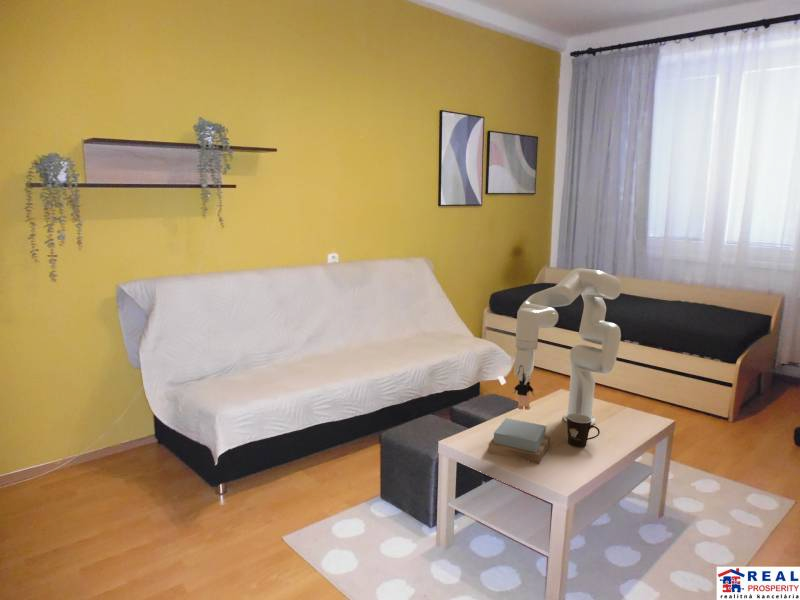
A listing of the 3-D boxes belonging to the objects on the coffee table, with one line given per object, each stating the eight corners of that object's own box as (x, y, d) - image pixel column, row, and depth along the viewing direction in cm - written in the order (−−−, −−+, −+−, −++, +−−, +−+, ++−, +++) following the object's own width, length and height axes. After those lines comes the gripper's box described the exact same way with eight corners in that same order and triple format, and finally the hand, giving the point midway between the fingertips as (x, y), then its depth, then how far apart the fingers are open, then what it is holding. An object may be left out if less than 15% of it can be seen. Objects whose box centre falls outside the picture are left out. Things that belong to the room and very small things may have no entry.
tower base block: (502, 435, 213) (502, 425, 212) (549, 445, 205) (550, 435, 204) (488, 454, 197) (488, 443, 196) (538, 465, 189) (539, 454, 188)
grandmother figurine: (531, 406, 200) (533, 372, 198) (534, 410, 196) (536, 375, 194) (510, 406, 200) (512, 372, 198) (513, 410, 196) (515, 375, 194)
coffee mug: (560, 440, 208) (562, 415, 206) (579, 437, 211) (581, 412, 209) (580, 453, 197) (582, 427, 195) (599, 450, 200) (602, 424, 198)
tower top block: (505, 427, 210) (505, 418, 209) (545, 436, 203) (545, 425, 203) (493, 443, 197) (494, 432, 196) (535, 452, 190) (536, 441, 189)
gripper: (521, 336, 202) (518, 384, 206) (509, 347, 188) (506, 398, 191) (542, 339, 199) (539, 388, 202) (531, 350, 185) (528, 402, 188)
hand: (523, 392), depth 197 cm, fingers closed on grandmother figurine, 2 cm apart
